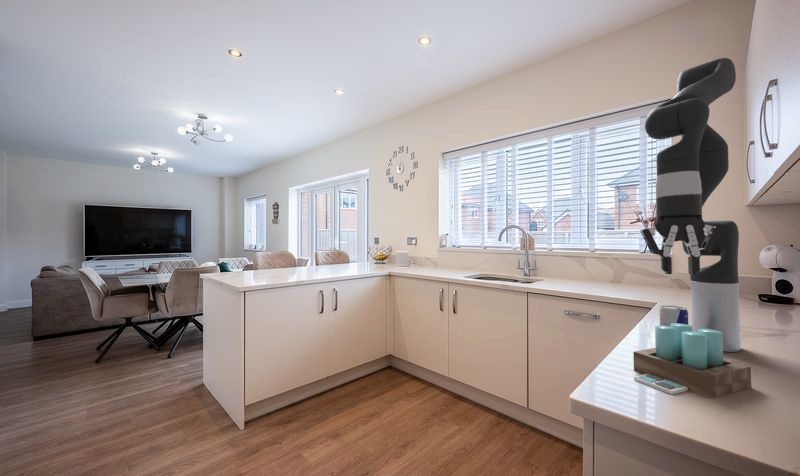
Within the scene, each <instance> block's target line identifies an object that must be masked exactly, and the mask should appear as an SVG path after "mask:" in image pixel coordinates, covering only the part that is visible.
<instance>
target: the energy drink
mask: <svg viewBox="0 0 800 476" xmlns="http://www.w3.org/2000/svg"><path fill="white" fill-rule="evenodd" d="M672 323H678V324H686V325H689V311H688V309H687V308H686V307H685V306H678V305H661V306H660V308H659V326H669V327H671V324H672Z"/></svg>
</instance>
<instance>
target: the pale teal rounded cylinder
mask: <svg viewBox="0 0 800 476" xmlns="http://www.w3.org/2000/svg"><path fill="white" fill-rule="evenodd" d="M654 331H655V333H654V334H655V336H654V337H655V348H656V357H658V358H662V359H665V360H668V361H676V360H678V346H677V329H676V328H674V327H669V326H660V325H655V326H654Z"/></svg>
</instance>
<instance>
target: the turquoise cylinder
mask: <svg viewBox="0 0 800 476" xmlns="http://www.w3.org/2000/svg"><path fill="white" fill-rule="evenodd" d="M698 333H702V334H705V335H706V339H707V364H710V365H713V366H717V367H719V366H723V359H724V351H723V340H722V332H720V331H716V330H710V329H698Z"/></svg>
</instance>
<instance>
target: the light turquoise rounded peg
mask: <svg viewBox="0 0 800 476" xmlns="http://www.w3.org/2000/svg"><path fill="white" fill-rule="evenodd" d="M682 359H683V365H685V366H688V367H691V368H695V369H698V370H701V371H702V370H706V369H707V339H706V335H705V334H702V333H697V332H689V331H685V332H682Z"/></svg>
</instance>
